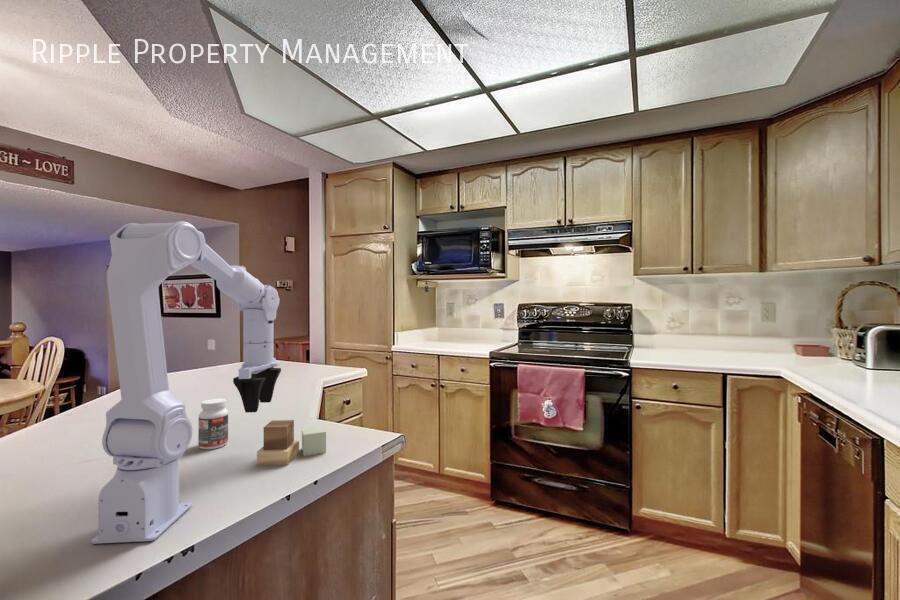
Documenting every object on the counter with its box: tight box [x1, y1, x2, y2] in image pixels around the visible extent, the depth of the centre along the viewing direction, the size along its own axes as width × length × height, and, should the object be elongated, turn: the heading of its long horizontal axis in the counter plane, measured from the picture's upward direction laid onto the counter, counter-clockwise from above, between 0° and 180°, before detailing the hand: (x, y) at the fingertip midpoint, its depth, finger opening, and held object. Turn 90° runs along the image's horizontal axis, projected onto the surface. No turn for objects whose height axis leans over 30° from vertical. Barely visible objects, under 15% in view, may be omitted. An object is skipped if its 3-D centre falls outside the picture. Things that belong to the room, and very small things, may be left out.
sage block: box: [301, 425, 327, 457], centre depth 86 cm, size 4×4×4 cm
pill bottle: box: [197, 397, 229, 450], centre depth 89 cm, size 6×6×10 cm
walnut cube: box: [263, 419, 295, 450], centre depth 82 cm, size 4×4×4 cm
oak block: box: [256, 440, 300, 466], centre depth 81 cm, size 6×6×3 cm
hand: (258, 406), depth 84 cm, fingers open, 7 cm apart
